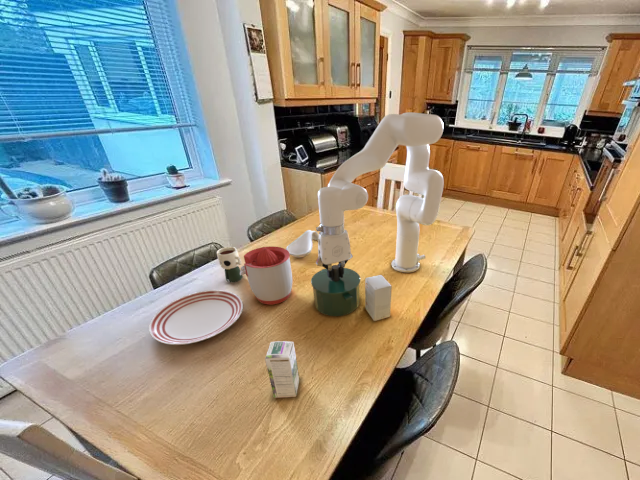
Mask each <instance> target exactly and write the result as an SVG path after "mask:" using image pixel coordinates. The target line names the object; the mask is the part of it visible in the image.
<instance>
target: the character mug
mask: <svg viewBox="0 0 640 480" xmlns="http://www.w3.org/2000/svg"><path fill="white" fill-rule="evenodd" d="M216 256H217V259H218V262H219V266H220V267H221V268H222V269H224V277H225V282H227V283H228V282H229V283H237V282H239V281H240V280H242V279H243V277H244V276H243V275H240V270H241V267H239V266H240V265H242V260H241V257H240V256H239V252H238V248H237V247H235V246H225V247H222V248H219V249H218V250H217V251H216Z"/></svg>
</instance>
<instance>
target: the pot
mask: <svg viewBox="0 0 640 480" xmlns="http://www.w3.org/2000/svg"><path fill="white" fill-rule="evenodd" d="M324 269H325V268H323V269H321V270H324ZM360 290H361V289H360V285H359V286H358V287H357V288H356V289H354V290H352V291H350V292H348V293H344V294H337V295H331V294H324V293H321V292H318V291H317V290H315V289H314V288H313V287H312V292H313V300H314V306H315V308H316V310H317V311H318V312H319V313H321V314H323V315H325V316H330V317H341V316H347V315H349V314H351V313H353V312H355V311H356V310H357V309H358V307H359V305H360V301H361V300H360V295H361V293H360Z"/></svg>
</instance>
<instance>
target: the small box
mask: <svg viewBox="0 0 640 480" xmlns="http://www.w3.org/2000/svg"><path fill="white" fill-rule="evenodd" d="M364 280H365V282H364V284H365V285H364V286H365V287H364V293H365V294H364V302H365V303H364V308H365V310H366V312H367V313H368V314H369V316H370V317H371V319H372V320H373V322H376V321H380V320H384V319H387V318H389V317H391V308H392V307H391V306H392V290H393V289H392V287H393V285H391V283H390V282H389V281H388V280H387V279H386V278H385V276H384V275H382V274H378V275H373V276H369V277H365V279H364Z"/></svg>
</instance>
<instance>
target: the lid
mask: <svg viewBox="0 0 640 480" xmlns="http://www.w3.org/2000/svg"><path fill="white" fill-rule="evenodd" d="M323 269H324V270H322V269H321V270H319V271H317V272H316V273H314V274H313V276H312V277H311V279H310V284H311V286H312V289H313V288H314V289H315V290H317V291H318V292H321V293H324V294H331V295H337V294H344V293H348V292H350V291H352V290H354V289H356V288H357V287H358V286H359V287H360V285H361V276H360V274H359V273H358V272H357V271H356V270H353V269H351V268H347V267H344V274H343V278H341V277H340V270H339V266H338V264H332V270H333V274H334V280H331V279H330V278H328V276H327V269H326V268H323Z"/></svg>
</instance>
